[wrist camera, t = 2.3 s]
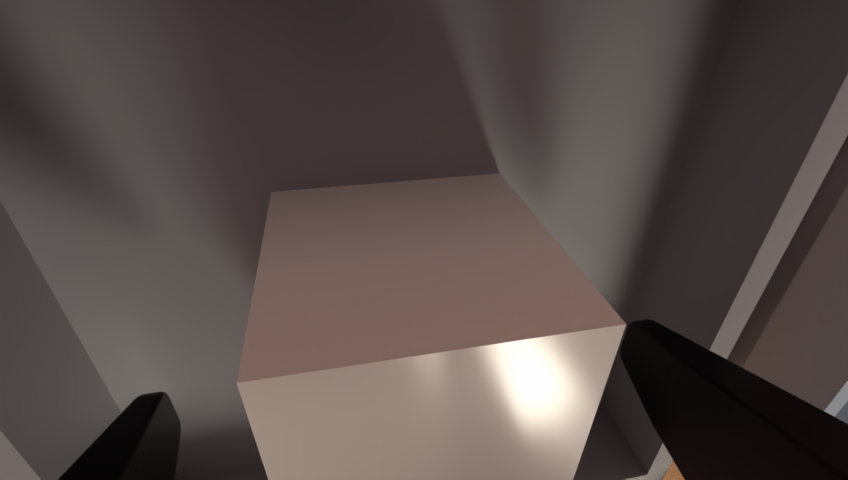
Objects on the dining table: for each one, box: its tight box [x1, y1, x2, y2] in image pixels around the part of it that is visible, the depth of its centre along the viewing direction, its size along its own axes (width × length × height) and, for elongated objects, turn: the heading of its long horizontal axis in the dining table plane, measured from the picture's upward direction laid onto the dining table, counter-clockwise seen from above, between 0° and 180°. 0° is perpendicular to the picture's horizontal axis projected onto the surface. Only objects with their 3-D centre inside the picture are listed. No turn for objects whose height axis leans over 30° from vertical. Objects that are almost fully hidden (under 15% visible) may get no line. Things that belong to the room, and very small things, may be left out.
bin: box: [0, 0, 848, 480], centre depth 10 cm, size 15×16×4 cm
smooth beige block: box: [237, 173, 626, 480], centre depth 9 cm, size 5×5×5 cm
